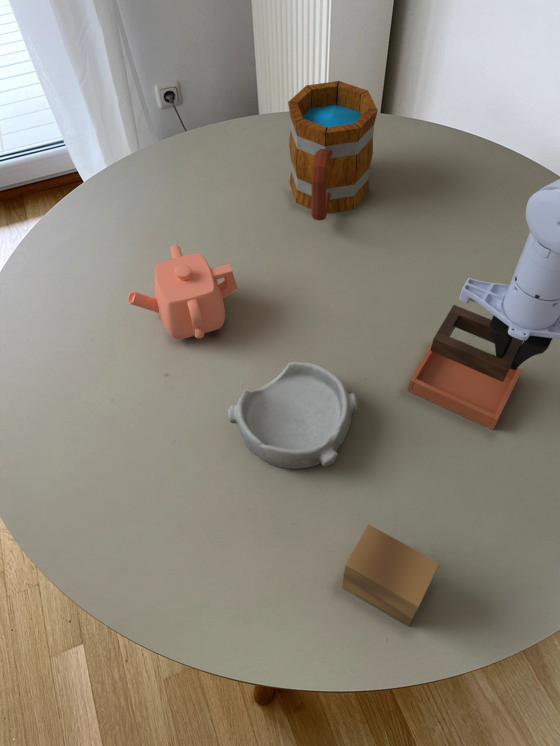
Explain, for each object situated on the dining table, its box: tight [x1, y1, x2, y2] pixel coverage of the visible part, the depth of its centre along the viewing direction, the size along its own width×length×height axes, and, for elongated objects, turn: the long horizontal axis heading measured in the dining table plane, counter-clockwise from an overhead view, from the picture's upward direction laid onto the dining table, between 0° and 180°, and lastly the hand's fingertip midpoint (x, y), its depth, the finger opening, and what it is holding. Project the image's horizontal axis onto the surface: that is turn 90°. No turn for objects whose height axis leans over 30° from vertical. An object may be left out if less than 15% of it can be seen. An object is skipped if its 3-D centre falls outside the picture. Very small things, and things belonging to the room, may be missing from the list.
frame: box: [430, 304, 524, 382], centre depth 76 cm, size 9×6×2 cm, turn 59°
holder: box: [407, 343, 523, 431], centre depth 85 cm, size 12×9×2 cm
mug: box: [287, 80, 378, 221], centre depth 102 cm, size 20×14×15 cm
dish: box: [227, 361, 358, 469], centre depth 81 cm, size 14×14×5 cm
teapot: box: [127, 244, 239, 340], centre depth 90 cm, size 12×12×10 cm
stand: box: [341, 524, 440, 627], centre depth 68 cm, size 8×5×8 cm, turn 59°
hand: (507, 360), depth 75 cm, fingers closed on frame, 1 cm apart
